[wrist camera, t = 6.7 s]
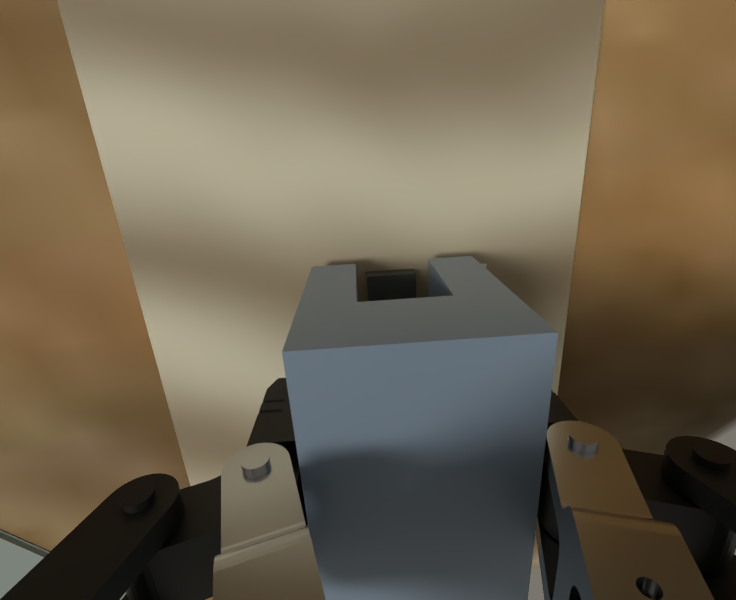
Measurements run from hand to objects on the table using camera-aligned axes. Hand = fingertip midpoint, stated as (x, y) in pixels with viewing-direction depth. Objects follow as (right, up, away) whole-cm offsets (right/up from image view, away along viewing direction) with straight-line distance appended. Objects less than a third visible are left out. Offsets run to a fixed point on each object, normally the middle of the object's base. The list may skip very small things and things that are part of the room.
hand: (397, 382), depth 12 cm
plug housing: (0, 0, +1) cm, 1 cm away
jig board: (-1, +4, +1) cm, 4 cm away
